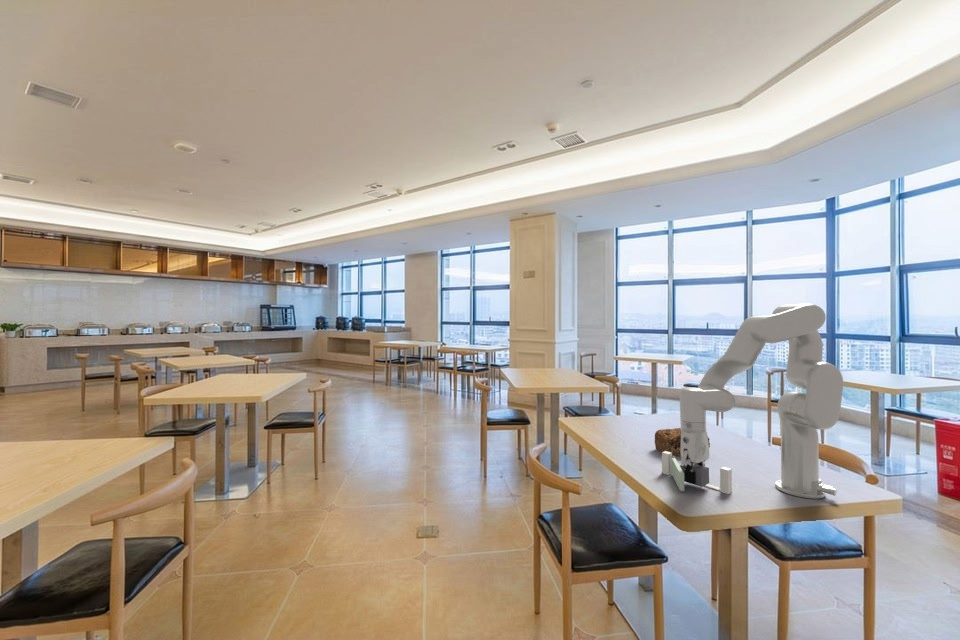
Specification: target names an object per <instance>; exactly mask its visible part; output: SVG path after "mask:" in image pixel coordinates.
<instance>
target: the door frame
mask: <svg viewBox="0 0 960 640" xmlns="http://www.w3.org/2000/svg"><path fill="white" fill-rule="evenodd" d="M671 456H672V453H671V452H667V451H664V452H661V473H662V474H664V475H668V476H670V475H672V474H671ZM732 472H733V468H730V467H726V466H722V467H720V468H719V474H720V475H719V477H720V478H719V481H720V482H719V486H720V487H719V486H716V485H713V484H710V483H708V484H707V485H705V486H704V487H705V488H709V489H712V490H714V491H718V492H720V493H724V494H727V495H729V494H731V493H732V492H733V487H732V486H733V483H732V480H733V477H732Z"/></svg>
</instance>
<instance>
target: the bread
mask: <svg viewBox="0 0 960 640" xmlns="http://www.w3.org/2000/svg"><path fill="white" fill-rule="evenodd" d="M681 432H682V430H681V427H678V428H664V429H658V430H656V431H655V433H654V445H655V450H656V451H658V452H659V453H662V452H664V451H667V452H671V453H672V456H675V457H681ZM708 444H709V449H710V448H711V443H710V438H709V437H708Z"/></svg>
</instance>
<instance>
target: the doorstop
mask: <svg viewBox="0 0 960 640" xmlns="http://www.w3.org/2000/svg"><path fill="white" fill-rule="evenodd" d="M688 464H689V465H690V466H691V463H688ZM679 465H680V467H681V469H682V471H683V472H684V483H688V482H686V481H685V470H684V467H683V465H682V464H681V463H680V464H679ZM694 472H695V474H696V484H693V486H697V487H700V488H703V487H705V485H707V484H710V467H707V466H705V467H704V466H701V465H697V464H695V467H694ZM688 484H691V483H688ZM691 485H692V484H691Z"/></svg>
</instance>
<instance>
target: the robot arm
mask: <svg viewBox="0 0 960 640" xmlns="http://www.w3.org/2000/svg"><path fill="white" fill-rule="evenodd" d="M826 316H827V315H826V312H825V311H824V309H823V308H822V307H820V306H818V305H816V304H813V303H812V304H811V303H798V304H794V303H793V304H792V303H791V304H785V305H784V304H783V305H780V306H777V307H776V308H775V309H774V310H773V312H772V313H771V315H755V316H750V317H747V318H746V319H744V320H743V321H742V323H741V325H740V326H739V328H738V330H736V331H737V332H736V333H735V334H734V337H733V339H732V340H731V341H730V342H731V343H730V344H729V346H727V347H728V348H727V350H726V351H725V353H724V354H723V355H722V356H721V357H720V358H719V359H717V361H716V362H715V363H714V364H713V365H712V366H711V367H709V369H707V371H706V372H705V374H704V375H703V377H702V379H701V380H700V382H699V384H698V386H697V387H694V386H693V387H692V386H691V387H689V386H687V387H682V388H681V389H679V416H680V417H679V419H680V428H681V430H682V432H681V456H680V458H681V461H680V465H681V464H682V465H683V467H684V470H685V481H686V482H685V483H687V482H688V484H690V483H691V485H694V484H696V474H695V472H694V467H695V464H697V465H701V466H704V467H706V463H705V462H706V460H708V459H709V458H710V448H709V444H708V438H709V435H708V432H707V413H706V411H707V412H708V411H709V412H710V411H711V412H717V413H724V412H725V413H726V412H730V411H731V410H732V409H733V408H734V407H735V405H736V399H735V396H734V394H733V393H731V392H730V391H729V390H727V389H725V388H724V387H725V386H726V384H727V383H728V382H729V381H730V380H731V379H732V378H733V377H735V376H736V375H738V374H740V373H743V372H746V371H747V370H749V369H751V368H752V367H754V365H755V363H756V361H757V359H758V358H759V355H760V354H761V352H762V351H763V349H764V348H765V346H766V344H776V343H782V342H785V341H788V355H787V364H786V373H785V375H786V376H785V377H786V379H787V382H788V383H789V384H790V385H792V386H793V387H795V388H799V389H802V390H805V392H801V391H789V392H786V393H784V394H783V395H781V396H780V398H778V402H777V413H778V417H779V422H780V479H778V480H776V481H775V482H774V483H775V488H776V489H777V490H779V491H781V492H782V493H786V494H788V495H792V496H796V497H799V498H806V499H815V500H816V499H818V500H819V499H823V498H825V497H826V494H827V495H830V496H836V495H837V489H835V488H834V486H831V485H827V484H824V483H823V479H822V478H819V473H820V472H819V470H820V469H819V468H820V467H819V465H820V464H819V454H820V453H819V442H820V441H819V440H820V439H819V432H818V430H821V431H822V430H824V431H825V430H830V429H831V428H833V427H834V426H835V425H836V424H837V423H838V420H839V418H840V414H841V408H842V399H843V390H844V378H843V375H842V372H841V371H840V370H839V368H838V367H837V366H836V365H834V364H832V363H831V362H826V361H823V351H824V350H823V349H824V348H823V346H824V345H823V339H822V336H821V335H820V332H819V329H821V327H823V326H824V324H825V322H826V318H827V317H826ZM688 463H691V466H690V465H689V464H688Z"/></svg>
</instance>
